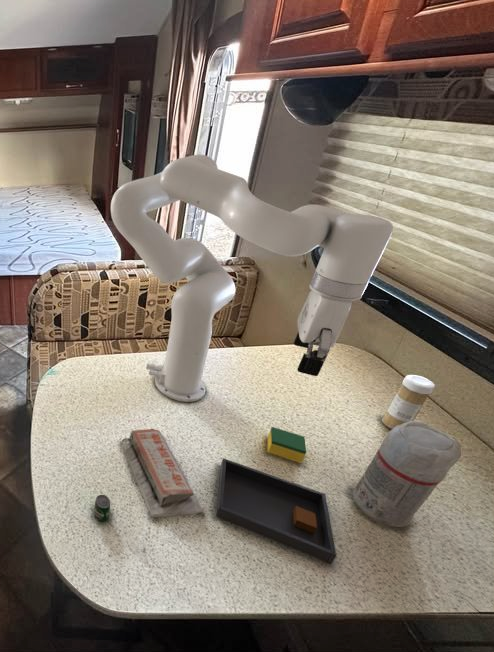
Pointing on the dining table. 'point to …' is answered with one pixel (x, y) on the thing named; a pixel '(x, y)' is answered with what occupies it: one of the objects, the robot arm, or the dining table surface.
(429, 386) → the sprinkles bottle
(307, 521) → the brown square tile
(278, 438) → the sponge
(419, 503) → the grey plastic tub
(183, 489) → the packaged product
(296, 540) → the pan
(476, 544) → the dining table surface
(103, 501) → the beer can
